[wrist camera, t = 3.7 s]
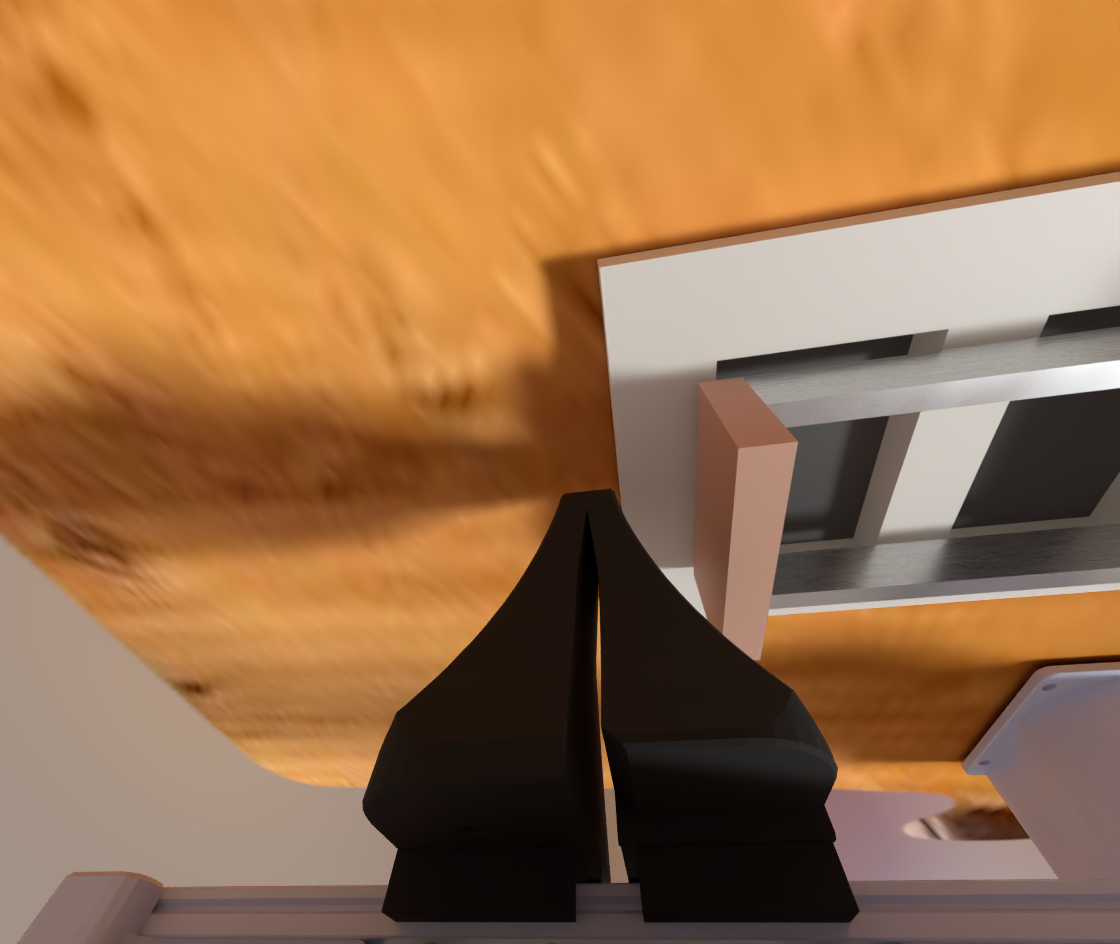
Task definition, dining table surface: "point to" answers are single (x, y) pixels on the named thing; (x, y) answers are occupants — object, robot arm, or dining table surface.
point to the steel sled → (890, 569)
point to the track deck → (865, 334)
